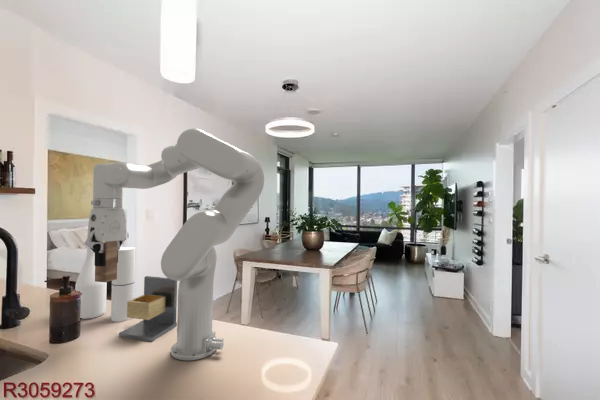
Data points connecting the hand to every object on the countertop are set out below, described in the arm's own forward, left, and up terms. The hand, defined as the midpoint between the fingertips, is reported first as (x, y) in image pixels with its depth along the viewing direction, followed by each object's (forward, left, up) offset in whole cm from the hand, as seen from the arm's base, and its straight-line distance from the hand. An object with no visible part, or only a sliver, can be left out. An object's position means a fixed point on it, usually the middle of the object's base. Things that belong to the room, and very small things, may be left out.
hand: (106, 263), depth 92 cm
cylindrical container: (+8, -16, -23) cm, 29 cm away
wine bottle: (+21, -15, -23) cm, 35 cm away
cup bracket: (-9, -9, -23) cm, 26 cm away
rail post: (0, 0, -5) cm, 5 cm away
